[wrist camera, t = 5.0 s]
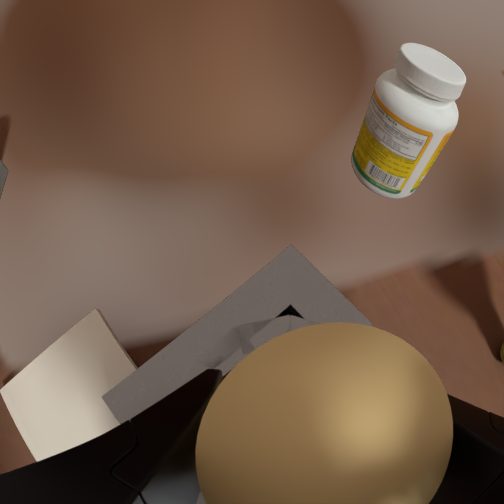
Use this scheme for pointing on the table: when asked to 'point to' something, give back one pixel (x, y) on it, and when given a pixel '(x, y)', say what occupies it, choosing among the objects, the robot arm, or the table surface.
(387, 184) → the supplement bottle
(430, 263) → the table surface
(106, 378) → the tile
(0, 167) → the skincare box
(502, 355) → the light bulb
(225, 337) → the housing
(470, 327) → the table surface
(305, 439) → the beige rounded peg
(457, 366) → the table surface
